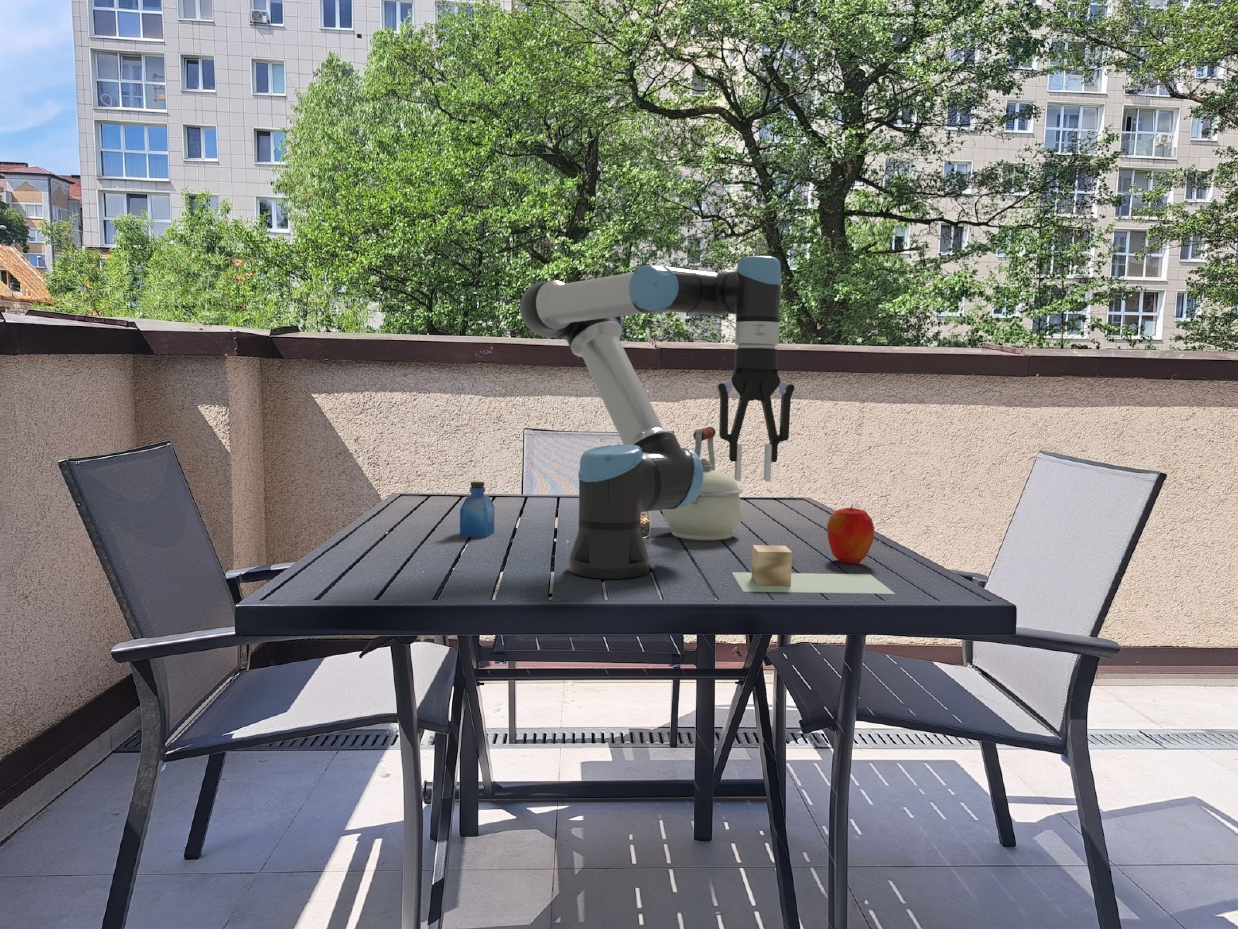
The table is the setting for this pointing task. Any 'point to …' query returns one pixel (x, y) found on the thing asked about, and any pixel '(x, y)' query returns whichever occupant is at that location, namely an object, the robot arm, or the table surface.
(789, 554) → the wooden block
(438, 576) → the table surface
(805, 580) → the felt mat
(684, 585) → the table surface
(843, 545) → the apple
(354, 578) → the table surface
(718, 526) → the kettle
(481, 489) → the blue corked bottle
